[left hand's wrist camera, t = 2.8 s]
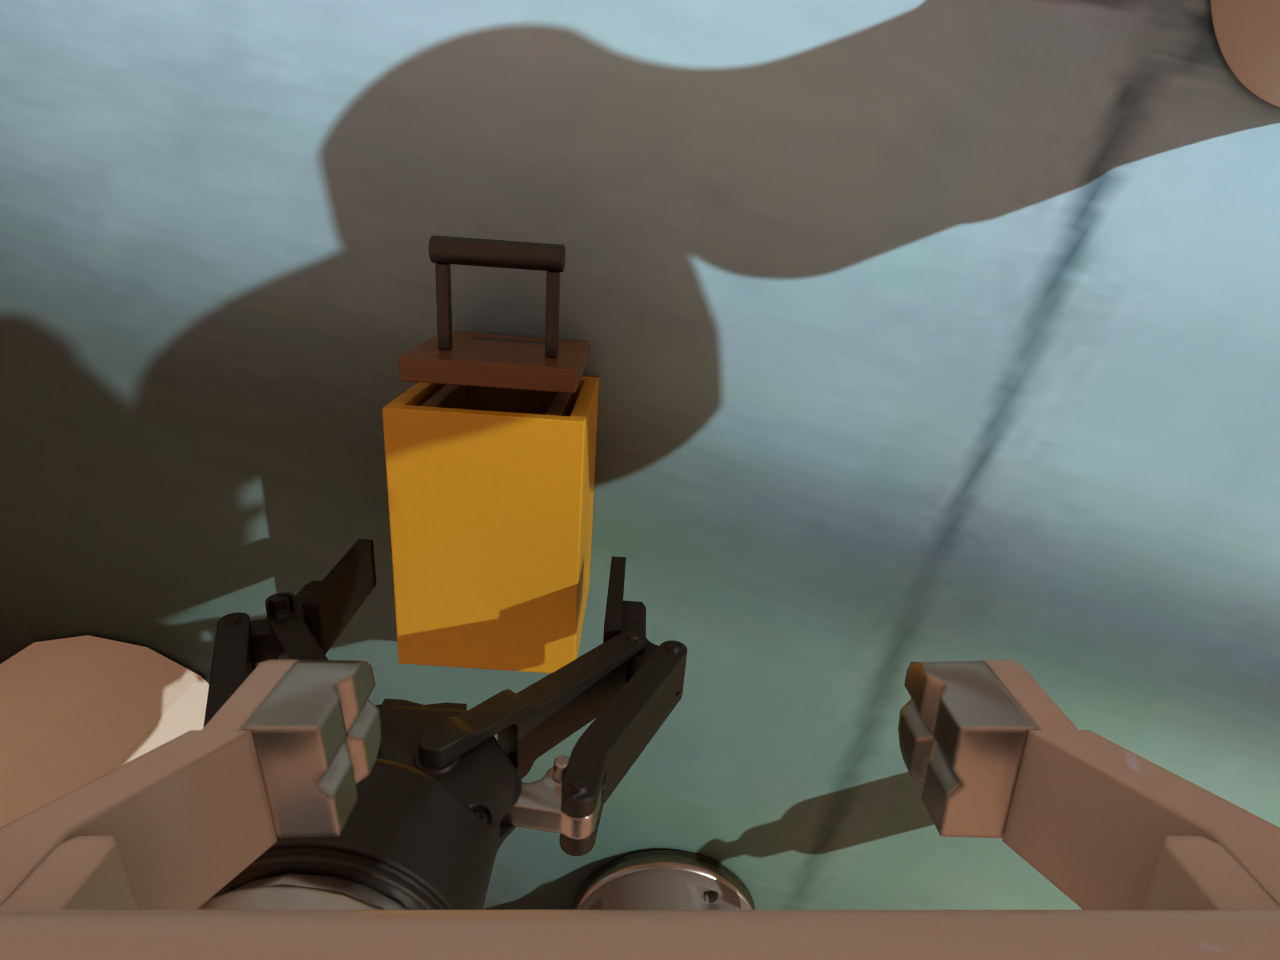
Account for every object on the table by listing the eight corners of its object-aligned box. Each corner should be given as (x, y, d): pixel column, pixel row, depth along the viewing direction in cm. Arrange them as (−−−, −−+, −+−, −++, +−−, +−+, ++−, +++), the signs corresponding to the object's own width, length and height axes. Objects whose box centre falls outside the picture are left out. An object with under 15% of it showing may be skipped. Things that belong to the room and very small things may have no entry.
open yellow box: (440, 365, 42) (381, 407, 33) (599, 376, 42) (585, 421, 33) (447, 576, 47) (398, 664, 38) (589, 586, 47) (574, 675, 38)
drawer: (441, 231, 38) (391, 235, 31) (594, 242, 39) (580, 248, 31) (451, 537, 45) (411, 601, 38) (581, 546, 45) (567, 611, 38)
